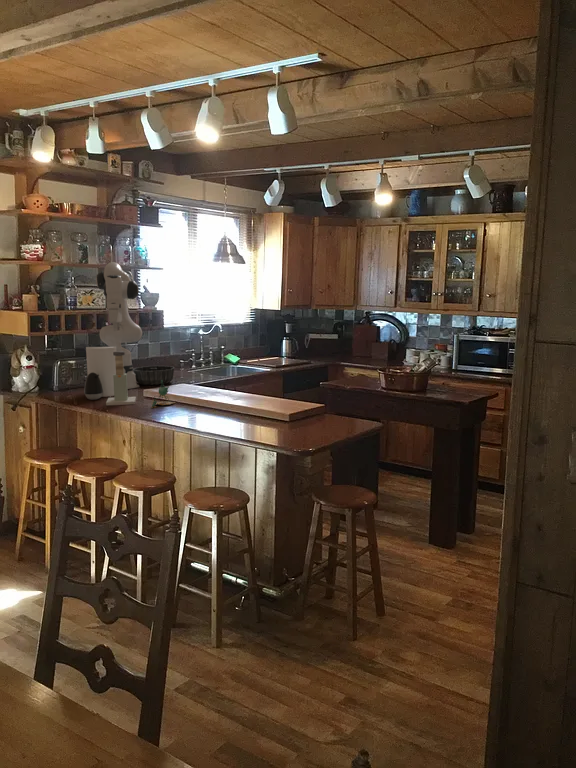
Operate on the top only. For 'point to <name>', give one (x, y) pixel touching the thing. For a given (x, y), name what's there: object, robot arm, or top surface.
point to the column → (119, 362)
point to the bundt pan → (154, 374)
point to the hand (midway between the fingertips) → (116, 330)
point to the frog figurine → (163, 392)
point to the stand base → (120, 392)
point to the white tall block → (102, 366)
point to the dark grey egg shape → (93, 387)
